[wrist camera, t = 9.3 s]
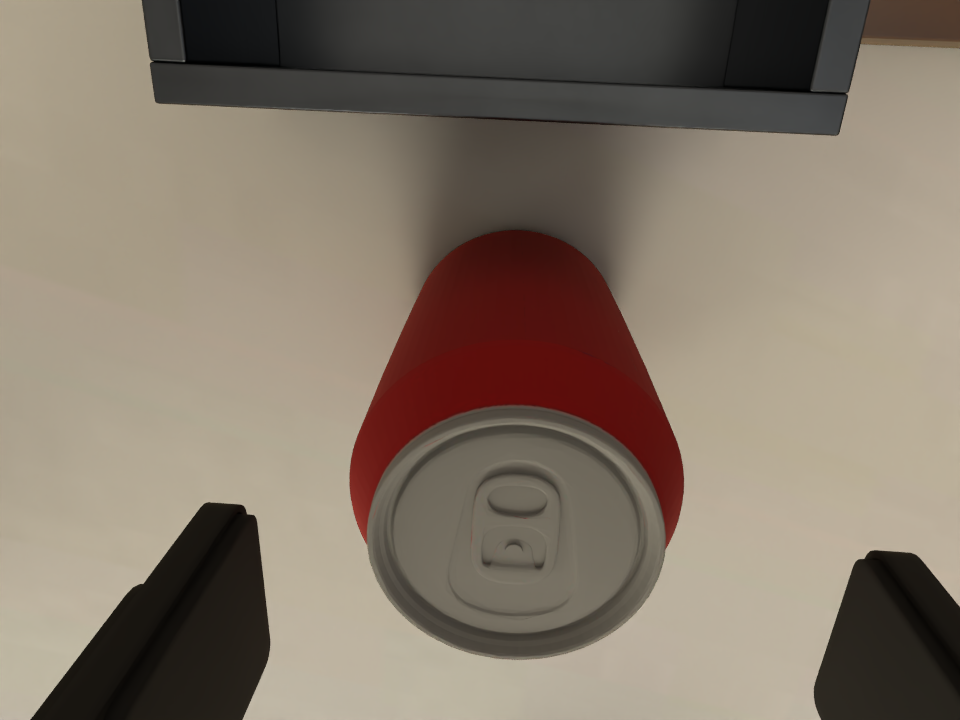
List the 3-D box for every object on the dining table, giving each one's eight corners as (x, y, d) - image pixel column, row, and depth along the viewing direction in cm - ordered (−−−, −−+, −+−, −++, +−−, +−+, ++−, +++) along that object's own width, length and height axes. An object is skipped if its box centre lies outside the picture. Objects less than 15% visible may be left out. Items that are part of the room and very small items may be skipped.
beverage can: (416, 404, 24) (335, 675, 13) (416, 218, 22) (315, 365, 11) (602, 414, 24) (676, 698, 13) (625, 228, 22) (742, 388, 11)
